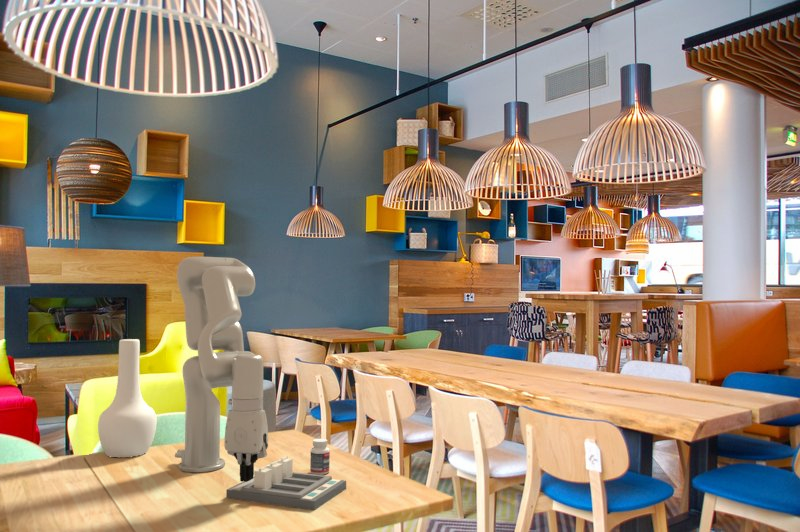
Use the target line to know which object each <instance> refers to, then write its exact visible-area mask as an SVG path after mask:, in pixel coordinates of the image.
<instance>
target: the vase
mask: <svg viewBox="0 0 800 532" xmlns="http://www.w3.org/2000/svg"><path fill="white" fill-rule="evenodd" d="M140 348H141V344H140V339H138V338H135V339H134V338H133V339H132V338H127V339H126V338H125V339H120V340H119V342H118V367H117V368H118V371H117V373H118V374H117V385H116V390H115V396H114V398H113V400H112V402H111V403H110V404H109V406H108V407H107V408H106V409H105V410H103V411H102V412H101V414H100V415H99V418H98V421H97V422H98V423H97V431H98V432H97V433H98V437H99V439H98V440H99V442H100V445H101V448H102V450H103V452H104V453H105V455H106V456H107V457H108V456H111V457H130V458H132V457H131V456H136V457H139V456H138V455H140V456H143V455H145V454H147V453H148V451H149V450H150V448H151V446H152V444H153V442H154V439H155V435H156V432H157V425H158V422H157V421H158V418H157V414H156V412H155V410H154V408H152V406H149V405H148V404H147V402H146V401H145V400H144V398H143V395H142V392H141V382H140V381H141V380H140V353H141V349H140ZM146 452H147V453H146ZM144 453H145V454H144ZM142 454H143V455H142ZM111 457H110V458H111Z"/></svg>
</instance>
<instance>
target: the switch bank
mask: <svg viewBox="0 0 800 532" xmlns="http://www.w3.org/2000/svg"><path fill="white" fill-rule="evenodd" d="M345 490H347V480H343V479H335V478H333V477H332V476H330V475H325V474H324V475H315V474H312V473H306V472H297V471H296V472H295V471H292V477H290V478H286V477H282V482H281V483H272V488H270V489H261V488H254V476H253V479H252V480H250V481H248V482H244V481H243V482H242V481H240V483H238V484H235V485H233V486H231V487H229V488H227V489H226V491H225V492H226V493H225V496H226V499H233V500H237V501H245V502H253V503H261V504H267V505H275V506H282V507H289V508H296V509H304V510H310V511H316V510H317V509H318V508H320V507H321V506H323V505H324V504H326V503H327V502H329V501H331V499H333V498H335V497H336V496H338V495H339V494H340V493H342V492H343V491H345Z"/></svg>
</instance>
